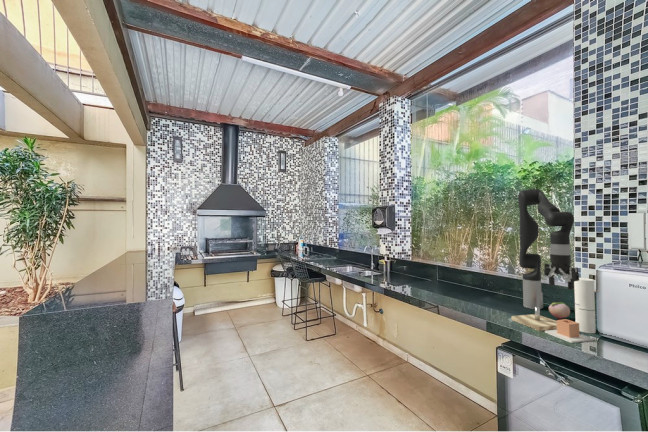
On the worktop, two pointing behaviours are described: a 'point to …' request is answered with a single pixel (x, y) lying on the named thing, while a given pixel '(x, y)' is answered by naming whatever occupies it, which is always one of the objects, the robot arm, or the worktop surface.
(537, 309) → the post
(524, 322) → the stand base
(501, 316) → the worktop surface
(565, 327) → the collar
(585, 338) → the pad
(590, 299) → the cylindrical container
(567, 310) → the decorative fruit
